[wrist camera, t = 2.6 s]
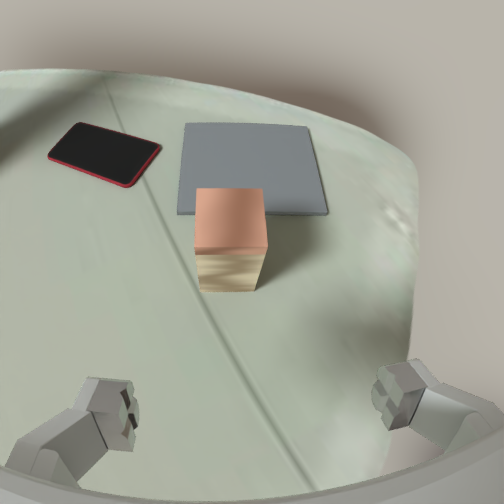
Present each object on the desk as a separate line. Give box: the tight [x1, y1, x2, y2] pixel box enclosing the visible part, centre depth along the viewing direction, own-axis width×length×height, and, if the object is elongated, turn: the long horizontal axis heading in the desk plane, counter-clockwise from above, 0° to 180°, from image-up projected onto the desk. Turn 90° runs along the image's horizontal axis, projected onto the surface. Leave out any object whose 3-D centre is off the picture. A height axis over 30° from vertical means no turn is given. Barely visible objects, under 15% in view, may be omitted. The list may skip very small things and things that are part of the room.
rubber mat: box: [177, 123, 327, 215], centre depth 37 cm, size 16×14×1 cm
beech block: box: [195, 188, 268, 292], centre depth 27 cm, size 5×5×9 cm
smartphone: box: [48, 122, 159, 188], centre depth 36 cm, size 7×1×15 cm
